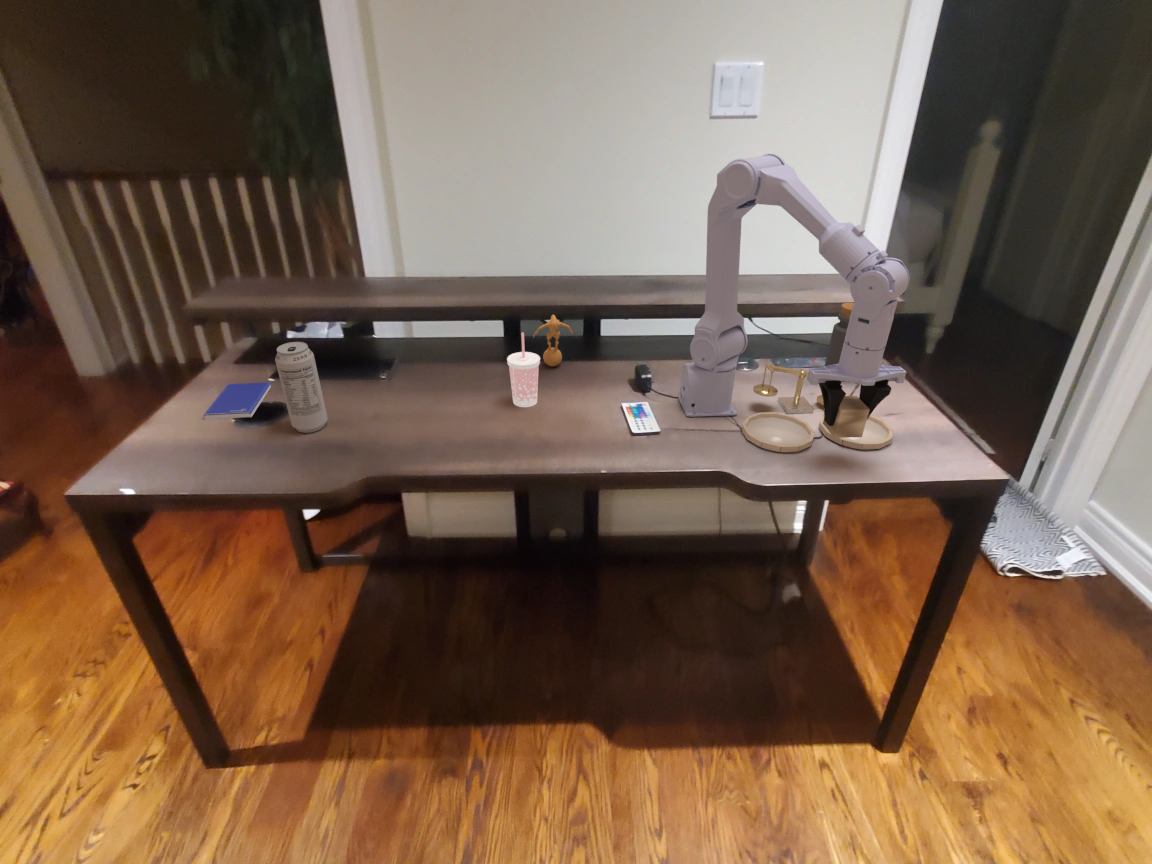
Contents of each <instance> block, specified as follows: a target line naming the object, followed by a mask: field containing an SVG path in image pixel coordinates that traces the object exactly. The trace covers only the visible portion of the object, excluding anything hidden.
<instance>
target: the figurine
mask: <svg viewBox="0 0 1152 864" xmlns="http://www.w3.org/2000/svg"><path fill="white" fill-rule="evenodd" d="M549 319H550V320H548V322H546V323H544V324H543V325H540V326H539V327H538V328H537V329H536V330H535V332H534V333H533V336H532V338H533V339H534V338H535V337H536V335H537V334H538V333H539V331H540V330H542V329H545V328H548V330H549V332H547V333H546V340H547V345H548V347H547V349H546V350H545V351H544V352H543V355H542V358H543V362H544V363H545V365H547V366H548V367H557V366H558V365H560V363H561V362H562V359H563V354H562V352H561V350H560V349H558V345H559V343H560V342H559V341H558V340H559V339H560V336H561V332H560V331H559V328H560V327H563V328H567V330H568V331H569V332H570V334H571V336H574V333H573V330H572V329H571V327H570V325H568V324H566V323H564V322H561V321H559V320H558V319H557V317H556V315H555V314H552V315H551V316H550V318H549ZM552 337H553V338H554V339H555V342H554V343H555V347H552V346H551V345H552V342H551V341H550V340H552Z"/></svg>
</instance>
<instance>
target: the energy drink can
mask: <svg viewBox="0 0 1152 864" xmlns="http://www.w3.org/2000/svg"><path fill="white" fill-rule="evenodd" d="M276 352H277V353H276V355H275V358H274V362H275V365H276V369H277V373H278V377H279V381H280V384H281V390H282V392H283V395H284V400H285V404H286V409H287V412H288V417H289V420H290V424H291V427H292V428H294V429H295V430H296V431H297V432H299V433H305V434H306V433H307V434H308V433H309V434H310V433H313V432H317V431H320V430H321V429H323V428H325V426H326V423H327V421H328V414H327V410H326V404H325V401H324V395H323V390H322V387H321V382H320V377H319V372H318V369H317V364H316V363H317V362H316V359H315V354H314V352H313V351H312V350H311V349H310V348H309V345H308V344H307V343H306V342H304V341H291V342H286V343H283V344H281V345H279V346H277V348H276Z"/></svg>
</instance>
